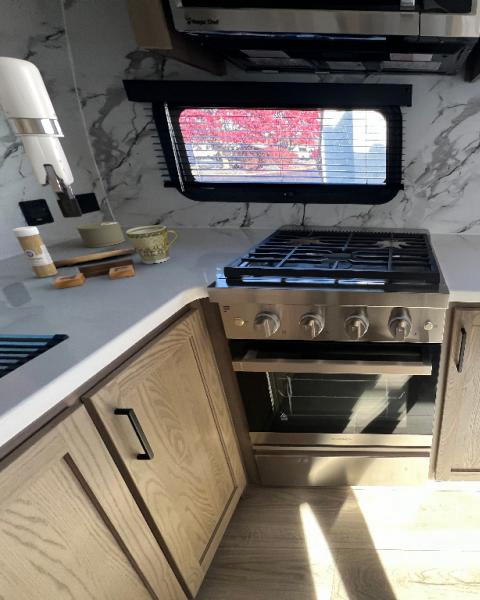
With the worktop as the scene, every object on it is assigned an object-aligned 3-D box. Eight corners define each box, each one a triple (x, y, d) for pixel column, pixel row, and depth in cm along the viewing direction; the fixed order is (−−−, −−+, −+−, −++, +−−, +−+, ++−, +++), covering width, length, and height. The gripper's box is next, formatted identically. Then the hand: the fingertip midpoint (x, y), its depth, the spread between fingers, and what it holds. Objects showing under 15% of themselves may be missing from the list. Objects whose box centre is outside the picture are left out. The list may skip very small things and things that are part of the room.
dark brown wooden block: (81, 278, 90) (76, 269, 89) (82, 275, 93) (78, 266, 92) (134, 269, 97) (131, 260, 96) (135, 266, 99) (131, 258, 98)
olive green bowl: (84, 243, 123) (75, 224, 120) (124, 237, 130) (117, 219, 127) (85, 250, 115) (76, 230, 112) (127, 243, 122) (120, 224, 119)
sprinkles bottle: (33, 279, 91) (7, 230, 85) (41, 273, 94) (17, 226, 89) (54, 276, 92) (30, 228, 86) (62, 271, 96) (39, 225, 90)
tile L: (111, 279, 90) (108, 273, 89) (112, 274, 93) (110, 268, 93) (134, 275, 92) (131, 269, 91) (134, 270, 96) (132, 264, 95)
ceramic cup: (130, 267, 98) (117, 234, 94) (148, 256, 107) (137, 226, 103) (177, 264, 100) (167, 231, 96) (191, 254, 109) (181, 224, 105)
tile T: (56, 289, 84) (53, 282, 83) (60, 283, 88) (57, 276, 87) (82, 284, 87) (79, 278, 86) (85, 278, 90) (82, 272, 89)
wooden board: (138, 247, 116) (137, 245, 115) (140, 254, 108) (139, 251, 108) (41, 264, 102) (39, 261, 102) (35, 272, 95) (34, 269, 95)
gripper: (21, 129, 74) (57, 213, 81) (1, 127, 63) (45, 224, 70) (67, 130, 78) (97, 210, 85) (55, 128, 67) (91, 220, 74)
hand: (73, 216), depth 78 cm, fingers closed
